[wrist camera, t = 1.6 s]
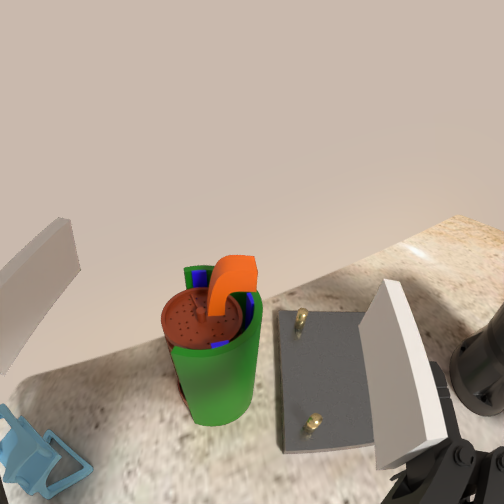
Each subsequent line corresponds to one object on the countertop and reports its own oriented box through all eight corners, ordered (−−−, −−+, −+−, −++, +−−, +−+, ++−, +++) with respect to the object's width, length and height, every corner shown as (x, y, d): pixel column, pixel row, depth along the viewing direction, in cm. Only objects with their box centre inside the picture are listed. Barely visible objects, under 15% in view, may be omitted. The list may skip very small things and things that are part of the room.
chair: (20, 470, 18) (-43, 433, 10) (51, 430, 24) (-3, 383, 17) (62, 513, 16) (-4, 493, 8) (95, 468, 22) (40, 435, 15)
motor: (173, 361, 36) (146, 232, 24) (239, 349, 38) (247, 219, 26) (189, 431, 28) (152, 326, 16) (264, 414, 30) (294, 300, 19)
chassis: (394, 317, 44) (405, 298, 41) (431, 431, 27) (450, 418, 24) (277, 317, 43) (281, 296, 41) (283, 454, 26) (290, 444, 24)
